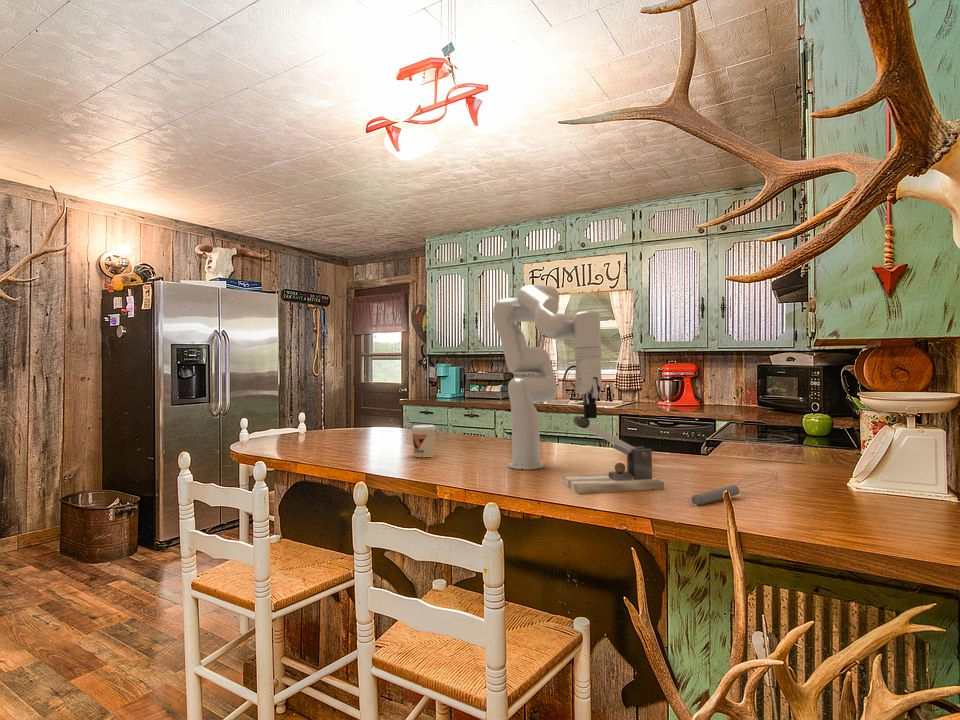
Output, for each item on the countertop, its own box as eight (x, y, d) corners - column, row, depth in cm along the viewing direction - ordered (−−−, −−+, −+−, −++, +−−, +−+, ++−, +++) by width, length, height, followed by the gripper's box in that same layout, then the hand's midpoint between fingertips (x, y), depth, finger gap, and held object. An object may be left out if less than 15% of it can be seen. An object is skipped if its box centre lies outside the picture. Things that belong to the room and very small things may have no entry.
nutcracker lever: (570, 425, 159) (576, 413, 159) (636, 460, 162) (641, 447, 162) (575, 427, 154) (581, 415, 154) (643, 462, 157) (649, 450, 157)
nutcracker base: (563, 482, 163) (562, 447, 163) (642, 478, 167) (641, 444, 167) (578, 494, 149) (577, 455, 149) (664, 488, 153) (663, 451, 153)
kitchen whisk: (679, 504, 138) (678, 479, 138) (766, 488, 153) (766, 466, 153) (698, 510, 132) (698, 484, 132) (787, 493, 147) (787, 470, 147)
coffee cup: (407, 457, 213) (406, 426, 213) (424, 453, 221) (424, 424, 221) (424, 459, 207) (423, 428, 207) (441, 455, 214) (440, 425, 214)
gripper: (567, 355, 164) (570, 416, 163) (584, 353, 149) (586, 420, 149) (591, 355, 165) (593, 415, 164) (610, 352, 150) (613, 419, 150)
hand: (590, 417), depth 157 cm, fingers closed
